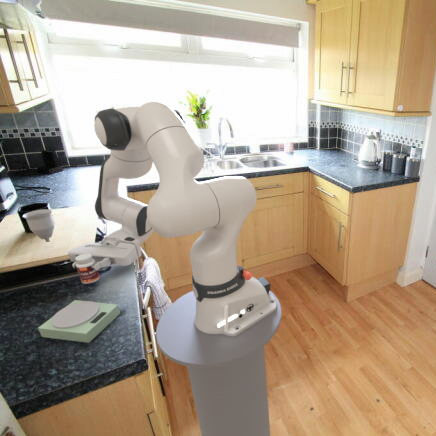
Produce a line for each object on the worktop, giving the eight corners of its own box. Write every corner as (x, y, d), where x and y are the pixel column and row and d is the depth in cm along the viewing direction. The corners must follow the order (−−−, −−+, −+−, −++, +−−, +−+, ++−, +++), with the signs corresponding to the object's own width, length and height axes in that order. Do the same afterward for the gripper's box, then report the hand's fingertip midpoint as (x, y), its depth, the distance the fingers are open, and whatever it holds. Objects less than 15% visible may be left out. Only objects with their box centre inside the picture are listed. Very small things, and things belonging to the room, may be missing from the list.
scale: (77, 308, 90) (74, 298, 88) (120, 313, 89) (117, 302, 87) (41, 337, 80) (36, 326, 78) (89, 342, 79) (85, 331, 77)
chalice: (41, 267, 107) (22, 219, 100) (41, 259, 112) (22, 212, 105) (68, 261, 112) (51, 214, 104) (67, 253, 116) (51, 207, 109)
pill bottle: (83, 286, 96) (74, 262, 93) (80, 279, 99) (72, 256, 96) (101, 280, 99) (94, 257, 96) (98, 273, 102) (91, 251, 99)
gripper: (86, 235, 109) (49, 255, 96) (142, 239, 107) (112, 261, 94) (91, 251, 111) (56, 273, 99) (146, 256, 109) (117, 279, 97)
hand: (84, 267), depth 96 cm, fingers closed on pill bottle, 5 cm apart
